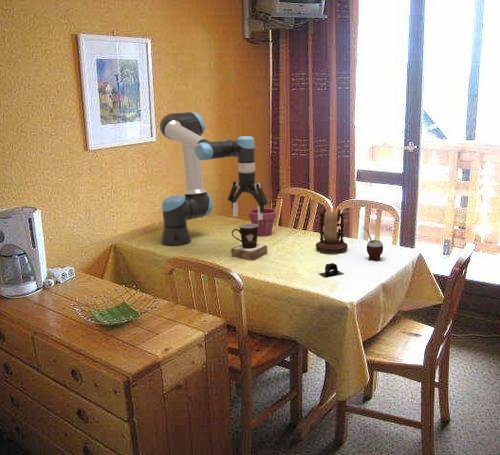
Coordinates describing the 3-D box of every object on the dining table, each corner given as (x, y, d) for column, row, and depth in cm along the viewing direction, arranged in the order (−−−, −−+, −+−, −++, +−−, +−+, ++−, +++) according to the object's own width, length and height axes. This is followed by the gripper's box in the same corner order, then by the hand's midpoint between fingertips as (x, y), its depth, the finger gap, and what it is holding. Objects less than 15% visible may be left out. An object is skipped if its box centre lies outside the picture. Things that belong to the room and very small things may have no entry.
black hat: (322, 280, 203) (322, 269, 201) (313, 274, 209) (313, 264, 208) (348, 275, 207) (349, 264, 206) (339, 270, 214) (339, 259, 212)
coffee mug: (261, 244, 237) (260, 224, 235) (255, 250, 229) (254, 228, 227) (238, 243, 241) (237, 222, 239) (231, 248, 233) (230, 227, 231)
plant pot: (280, 232, 272) (280, 209, 269) (268, 238, 261) (267, 214, 258) (257, 229, 280) (257, 206, 276) (244, 235, 268) (243, 212, 265)
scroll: (312, 253, 235) (312, 211, 230) (319, 244, 248) (319, 204, 243) (344, 255, 230) (345, 212, 225) (349, 246, 243) (350, 205, 238)
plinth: (231, 256, 234) (231, 248, 233) (246, 249, 244) (245, 241, 243) (253, 260, 227) (253, 252, 226) (267, 253, 237) (267, 245, 236)
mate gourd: (386, 259, 223) (387, 226, 219) (372, 263, 219) (373, 229, 215) (374, 255, 229) (375, 223, 225) (360, 258, 225) (361, 226, 222)
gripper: (219, 170, 229) (221, 216, 235) (266, 175, 216) (266, 223, 221) (228, 168, 235) (230, 212, 241) (275, 172, 222) (275, 219, 227)
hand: (247, 217), depth 231 cm, fingers open, 13 cm apart
